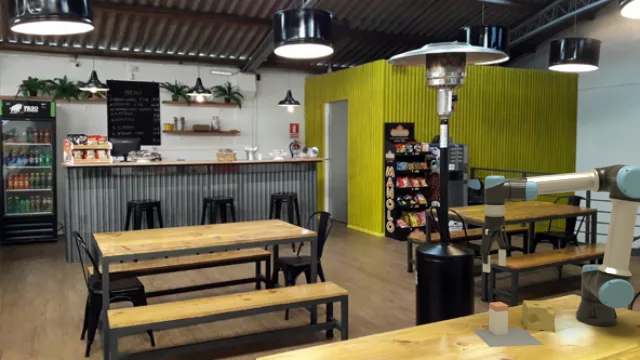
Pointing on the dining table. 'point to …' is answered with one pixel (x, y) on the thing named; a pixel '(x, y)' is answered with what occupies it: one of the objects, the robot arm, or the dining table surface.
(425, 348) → the dining table surface
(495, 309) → the tall block
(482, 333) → the slate mat
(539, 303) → the cheese
